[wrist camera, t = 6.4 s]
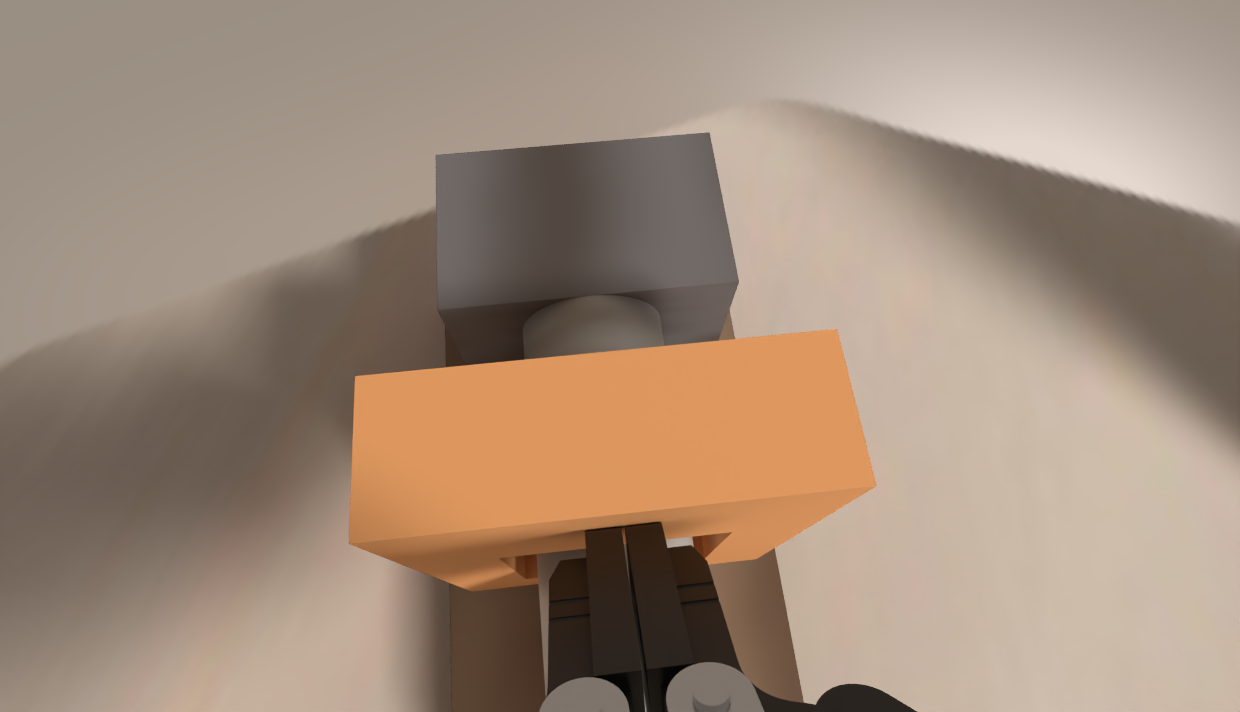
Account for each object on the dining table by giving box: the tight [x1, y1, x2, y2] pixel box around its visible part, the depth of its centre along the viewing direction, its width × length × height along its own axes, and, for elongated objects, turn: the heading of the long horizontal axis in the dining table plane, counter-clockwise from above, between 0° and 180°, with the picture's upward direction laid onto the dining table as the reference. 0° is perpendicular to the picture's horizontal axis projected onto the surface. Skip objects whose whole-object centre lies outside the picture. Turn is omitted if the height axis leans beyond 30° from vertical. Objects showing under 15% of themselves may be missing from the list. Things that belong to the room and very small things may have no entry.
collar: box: [349, 329, 876, 592], centre depth 18 cm, size 9×3×11 cm, turn 96°
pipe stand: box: [436, 133, 804, 712], centre depth 20 cm, size 11×24×9 cm, turn 6°
